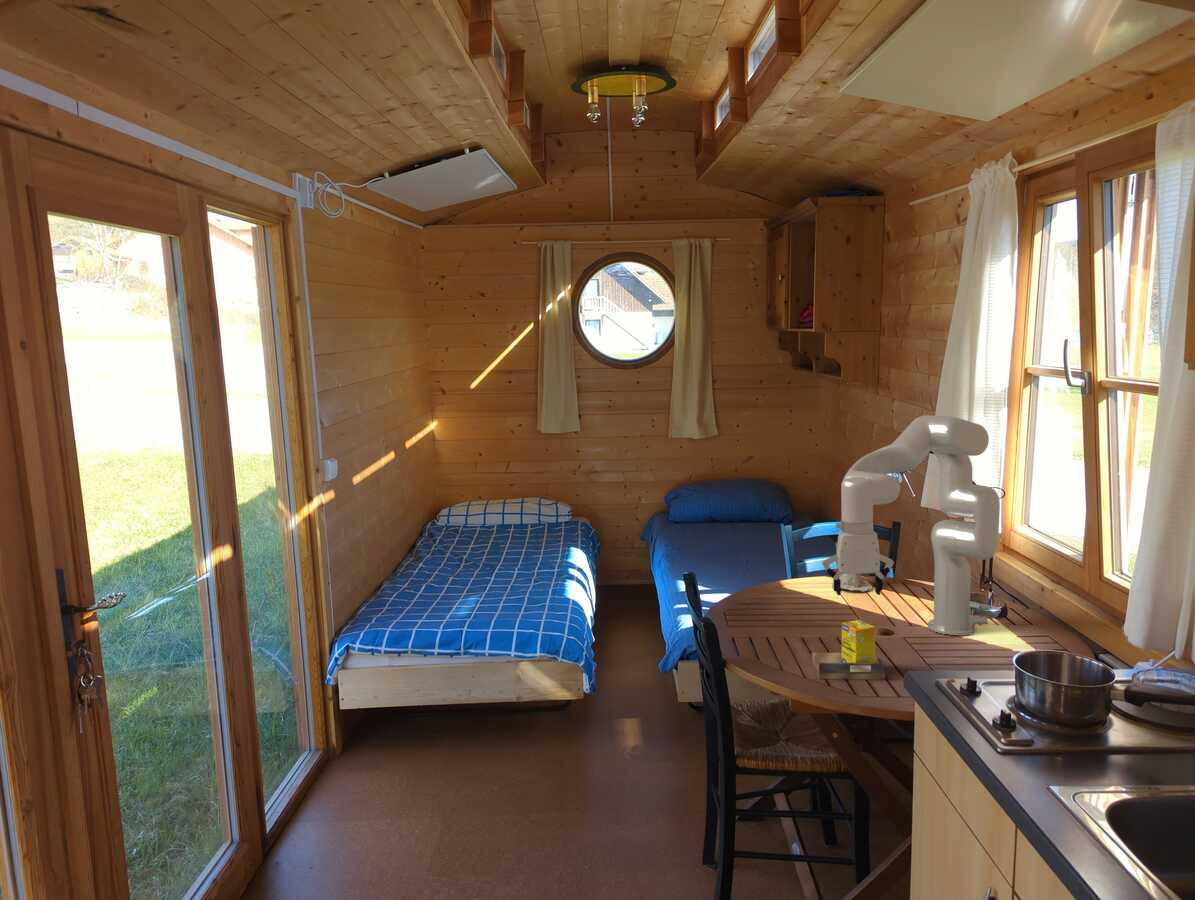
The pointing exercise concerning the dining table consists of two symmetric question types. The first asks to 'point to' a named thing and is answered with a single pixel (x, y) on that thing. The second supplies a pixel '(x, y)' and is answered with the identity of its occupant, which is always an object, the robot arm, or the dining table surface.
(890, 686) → the dining table surface
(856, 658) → the supplement box
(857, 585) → the clay mushroom sculpture
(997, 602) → the dining table surface
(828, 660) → the flat box
